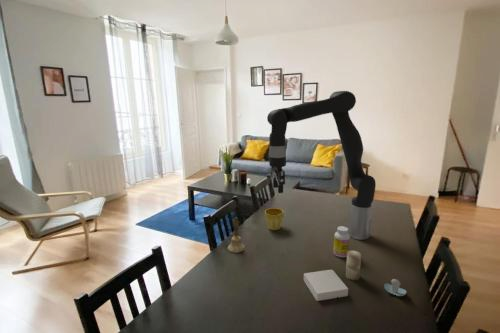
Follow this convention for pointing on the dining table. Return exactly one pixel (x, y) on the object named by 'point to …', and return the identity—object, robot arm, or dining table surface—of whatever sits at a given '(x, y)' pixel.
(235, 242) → the hand bell
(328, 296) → the plinth
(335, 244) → the supplement bottle
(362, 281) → the dining table surface
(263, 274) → the dining table surface
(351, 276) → the birch post
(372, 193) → the robot arm
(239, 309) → the dining table surface
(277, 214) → the plant pot
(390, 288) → the pacifier
